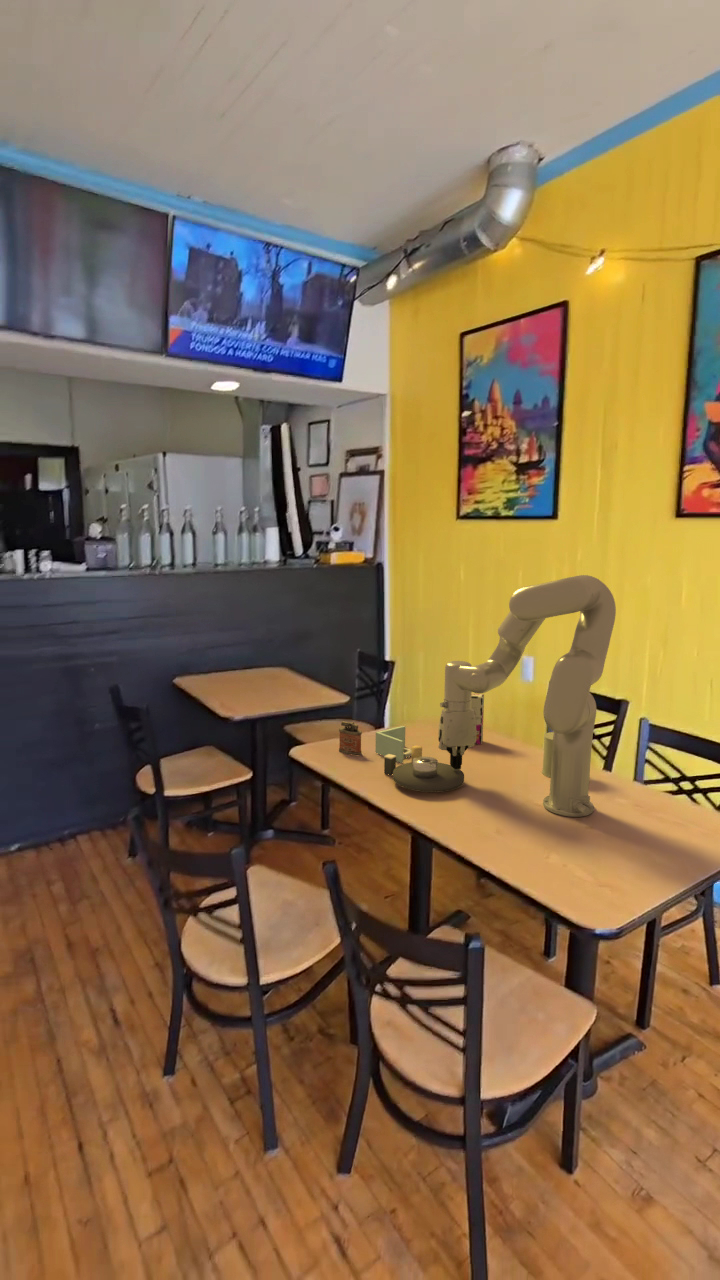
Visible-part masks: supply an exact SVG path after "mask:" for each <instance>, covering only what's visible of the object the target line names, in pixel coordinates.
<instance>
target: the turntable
mask: <svg viewBox="0 0 720 1280" xmlns="http://www.w3.org/2000/svg"><path fill="white" fill-rule="evenodd" d="M411 751H412V756H411V761H410V762H406V763H401V764H399V765H398V766H396V768H395V769H394V770H393V775H392V780H393V782H395V784H397V785H398V786H400V787H402V788H403V789H407V790H411V791H416V792H423V793H441V792H442V793H443V792H449V791H452V790H456V789H458V788H460V787H462V786H463V785H464V782H465V773H464V772H463V770H461V769H456V770H455V769H454V768H453V767H451V765H450V764H448V763H443V762H438V770H437V776H436V777H435V778H431V779H422V778H417V777H415V776H413V775H412V768H413V759H414V758H416V757H423V747H422V746H420V745H412V746H411Z"/></svg>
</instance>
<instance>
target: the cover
mask: <svg viewBox="0 0 720 1280" xmlns="http://www.w3.org/2000/svg"><path fill="white" fill-rule="evenodd" d="M438 763H439V761H438V760H437V758H435V757H431V756H422V757H416V758H414V759H413V768H412V775H413V776H415V777H417V778H422V779H431V778H435V777H436V776H437V770H438Z"/></svg>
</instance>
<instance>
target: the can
mask: <svg viewBox="0 0 720 1280" xmlns="http://www.w3.org/2000/svg"><path fill="white" fill-rule="evenodd" d="M553 735H554V731H550V732H547V733H544V736H543V739H544V740H543V756H542V757H543V758H542V759H543V760H542V770H541V774H542V775H543V776H544V777H547V778H550V779H551V763H552V747H553Z"/></svg>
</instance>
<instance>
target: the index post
mask: <svg viewBox="0 0 720 1280" xmlns="http://www.w3.org/2000/svg"><path fill="white" fill-rule="evenodd" d="M383 758H384V759H383V760H384V763H383V766H384V769H383V770H384V772H383V773H385V774H384V775H387V774H389V775H388V776H393V775H392V774H393V770H394V769H395V768H396V767H397V762H396V755H392V754H388V755H386V756H383Z"/></svg>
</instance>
